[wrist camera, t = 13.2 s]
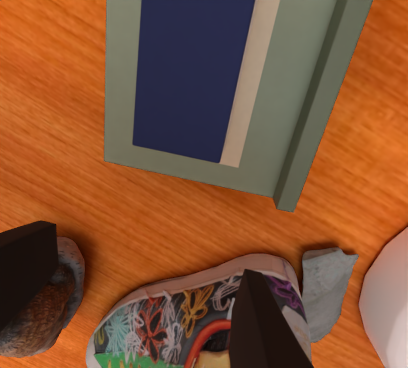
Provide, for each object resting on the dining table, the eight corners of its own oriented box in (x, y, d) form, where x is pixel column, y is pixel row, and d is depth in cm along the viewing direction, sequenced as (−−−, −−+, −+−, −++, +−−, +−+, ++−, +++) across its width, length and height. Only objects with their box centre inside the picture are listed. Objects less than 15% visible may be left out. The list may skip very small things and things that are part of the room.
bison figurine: (87, 320, 25) (1, 450, 16) (26, 297, 25) (-95, 415, 16) (105, 234, 21) (1, 347, 12) (31, 206, 21) (-134, 298, 12)
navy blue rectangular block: (225, 147, 14) (220, 169, 10) (159, 133, 14) (128, 149, 10) (268, -52, 10) (289, -142, 6) (180, -66, 10) (146, -162, 6)
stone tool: (280, 339, 21) (325, 326, 23) (292, 358, 20) (339, 342, 21) (297, 242, 18) (348, 233, 19) (312, 255, 16) (367, 245, 18)
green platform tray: (124, 151, 18) (89, 168, 14) (136, -100, 12) (86, -197, 8) (279, 184, 17) (293, 213, 13) (362, -65, 12) (430, -151, 8)
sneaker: (83, 310, 25) (-4, 435, 16) (265, 224, 19) (296, 346, 10) (127, 355, 26) (72, 490, 17) (307, 290, 20) (366, 445, 11)
